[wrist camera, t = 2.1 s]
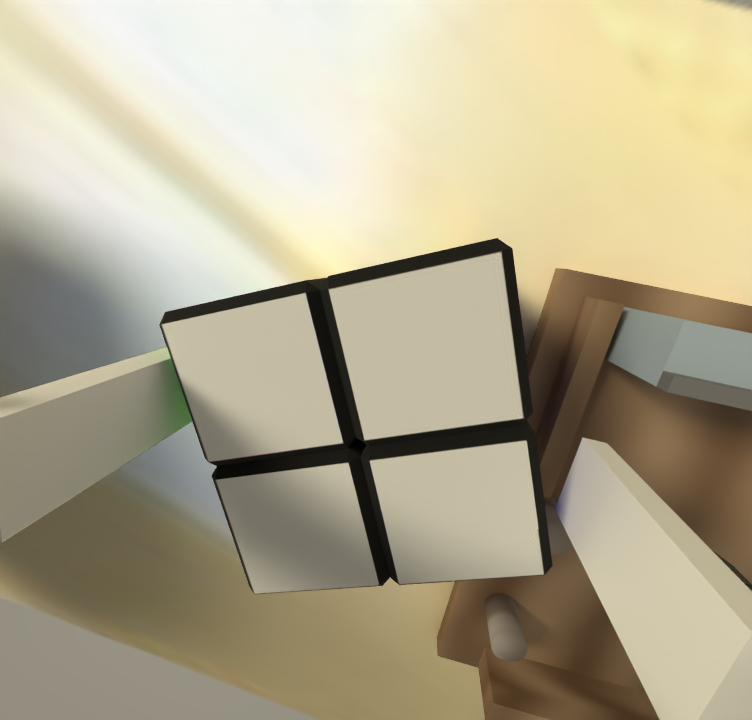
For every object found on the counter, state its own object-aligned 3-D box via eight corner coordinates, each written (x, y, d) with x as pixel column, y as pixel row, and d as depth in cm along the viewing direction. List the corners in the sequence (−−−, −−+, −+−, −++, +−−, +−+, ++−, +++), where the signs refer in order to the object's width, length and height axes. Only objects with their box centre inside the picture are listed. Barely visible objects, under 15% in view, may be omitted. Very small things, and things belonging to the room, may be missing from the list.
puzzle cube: (496, 433, 20) (558, 583, 11) (325, 457, 22) (248, 603, 13) (467, 248, 18) (513, 232, 9) (280, 291, 20) (145, 316, 10)
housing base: (437, 637, 24) (439, 711, 20) (556, 268, 18) (593, 269, 14) (722, 717, 23) (785, 814, 19) (963, 350, 17) (1137, 378, 12)
